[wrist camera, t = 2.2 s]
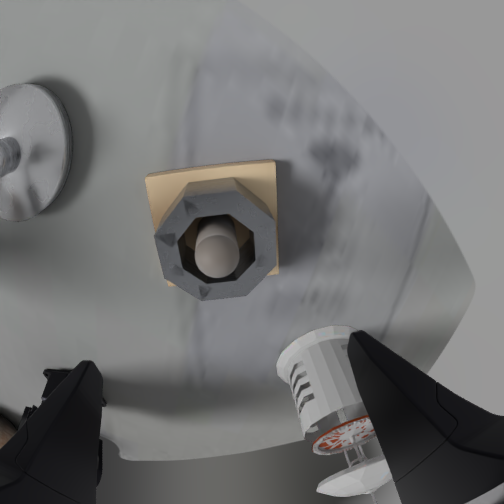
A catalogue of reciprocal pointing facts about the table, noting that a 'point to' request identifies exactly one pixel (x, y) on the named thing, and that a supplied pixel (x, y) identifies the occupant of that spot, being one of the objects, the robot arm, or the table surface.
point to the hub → (32, 150)
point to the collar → (208, 204)
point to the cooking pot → (6, 431)
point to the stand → (217, 226)
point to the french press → (332, 407)
